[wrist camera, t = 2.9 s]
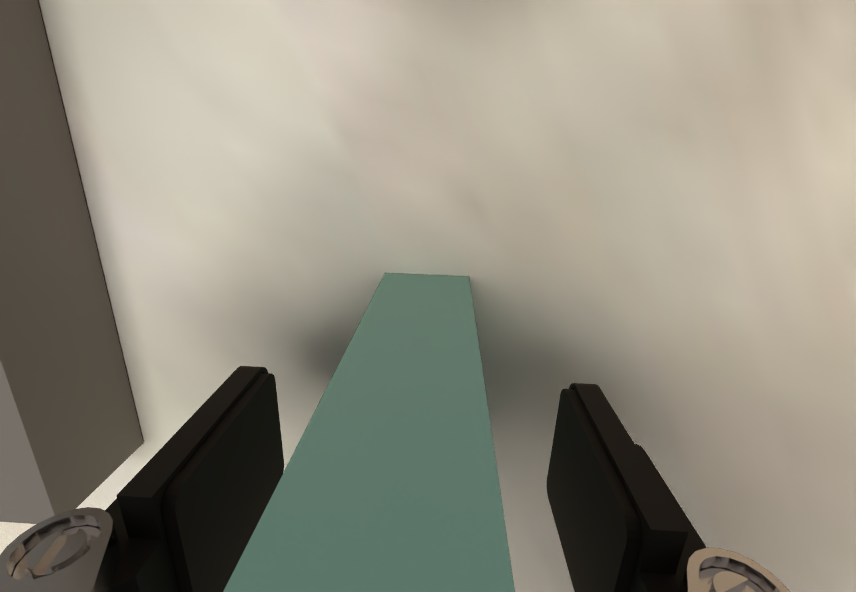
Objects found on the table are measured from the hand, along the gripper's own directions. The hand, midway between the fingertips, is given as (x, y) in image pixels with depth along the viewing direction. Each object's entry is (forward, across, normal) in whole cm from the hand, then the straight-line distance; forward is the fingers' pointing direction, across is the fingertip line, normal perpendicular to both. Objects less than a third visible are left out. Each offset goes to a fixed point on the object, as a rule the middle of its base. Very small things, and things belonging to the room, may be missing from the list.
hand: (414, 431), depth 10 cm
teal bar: (+4, 0, 0) cm, 4 cm away
